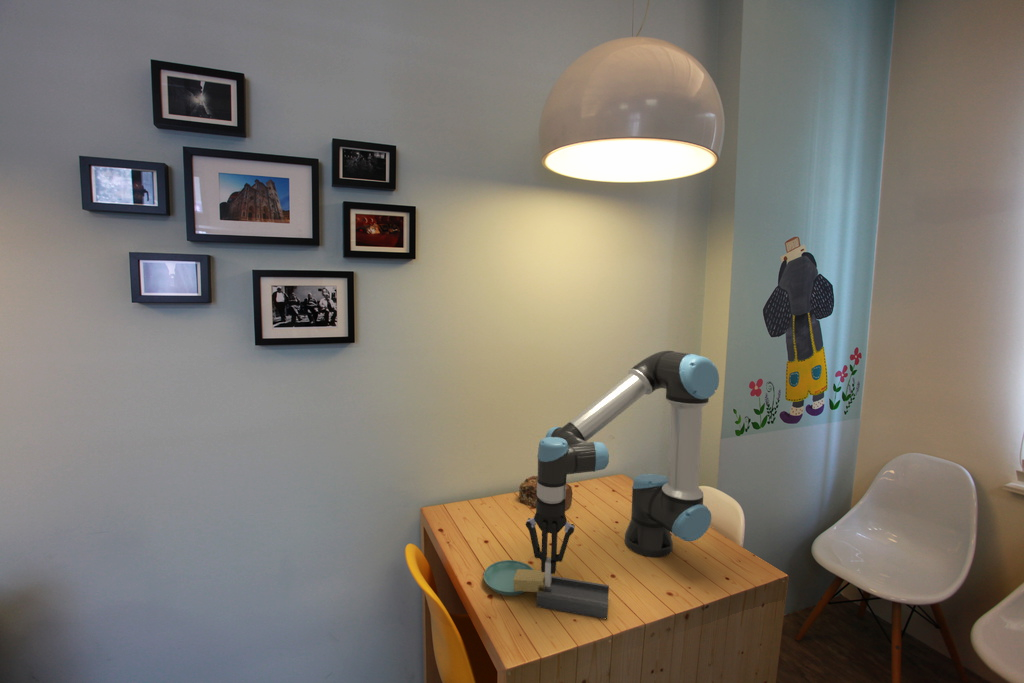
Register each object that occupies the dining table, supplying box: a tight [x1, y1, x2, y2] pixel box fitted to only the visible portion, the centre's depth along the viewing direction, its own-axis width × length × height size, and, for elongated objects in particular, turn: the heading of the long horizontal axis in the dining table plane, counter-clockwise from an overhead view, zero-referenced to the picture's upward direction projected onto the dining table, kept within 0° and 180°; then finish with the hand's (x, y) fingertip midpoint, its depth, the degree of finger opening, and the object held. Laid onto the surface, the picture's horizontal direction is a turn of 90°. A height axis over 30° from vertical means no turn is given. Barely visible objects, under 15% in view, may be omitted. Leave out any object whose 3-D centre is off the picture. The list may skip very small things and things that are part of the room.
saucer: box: [483, 559, 534, 597], centre depth 128 cm, size 15×15×3 cm
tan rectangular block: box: [513, 569, 546, 593], centre depth 123 cm, size 8×5×3 cm, turn 77°
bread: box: [518, 475, 574, 512], centre depth 178 cm, size 19×11×10 cm, turn 54°
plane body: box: [535, 575, 610, 620], centre depth 120 cm, size 18×8×4 cm, turn 77°
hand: (548, 583), depth 122 cm, fingers closed
